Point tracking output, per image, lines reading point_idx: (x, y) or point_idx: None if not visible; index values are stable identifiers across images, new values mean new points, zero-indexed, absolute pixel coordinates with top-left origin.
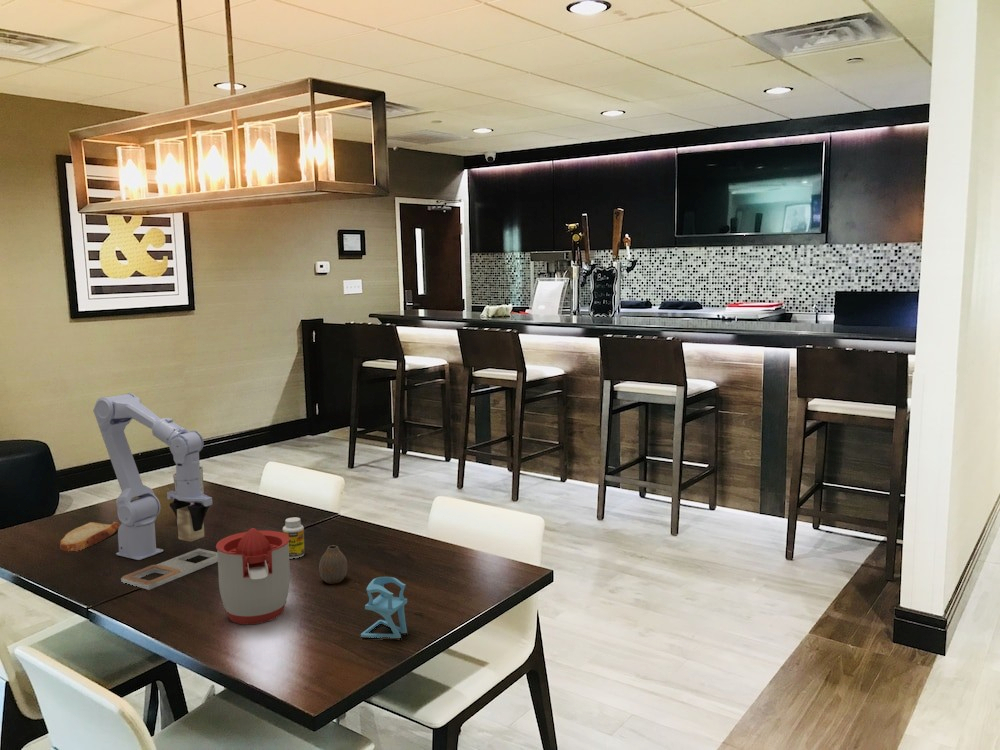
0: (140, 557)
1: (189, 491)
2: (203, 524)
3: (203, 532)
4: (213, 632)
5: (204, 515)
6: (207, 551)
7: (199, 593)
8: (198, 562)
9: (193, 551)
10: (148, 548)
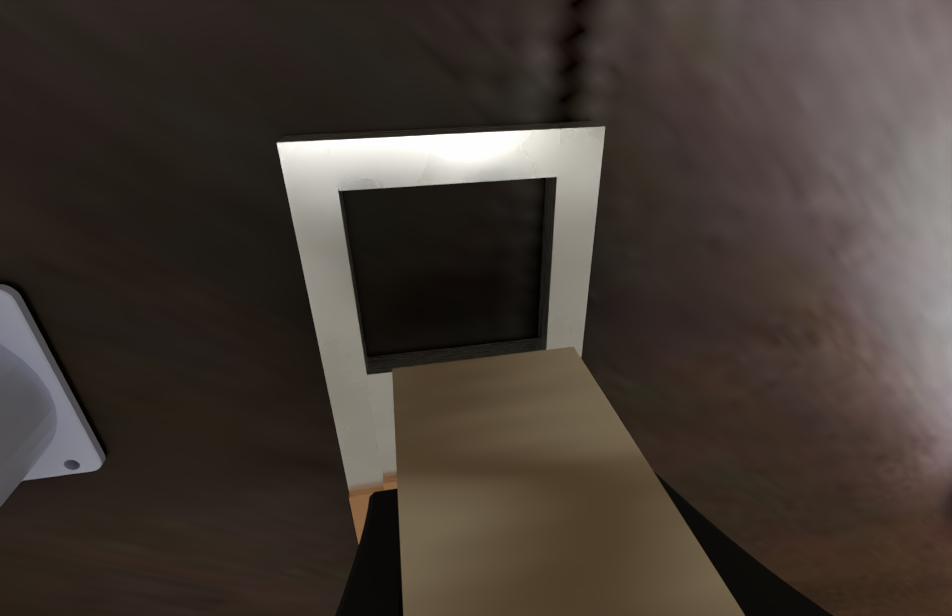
0: (77, 454)
1: None
2: (633, 445)
3: (589, 381)
4: (946, 564)
5: (798, 603)
6: (418, 159)
7: (765, 478)
8: (547, 336)
9: (315, 222)
10: (23, 437)
